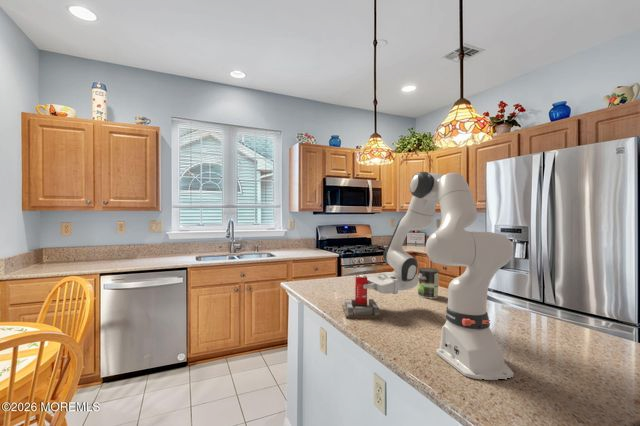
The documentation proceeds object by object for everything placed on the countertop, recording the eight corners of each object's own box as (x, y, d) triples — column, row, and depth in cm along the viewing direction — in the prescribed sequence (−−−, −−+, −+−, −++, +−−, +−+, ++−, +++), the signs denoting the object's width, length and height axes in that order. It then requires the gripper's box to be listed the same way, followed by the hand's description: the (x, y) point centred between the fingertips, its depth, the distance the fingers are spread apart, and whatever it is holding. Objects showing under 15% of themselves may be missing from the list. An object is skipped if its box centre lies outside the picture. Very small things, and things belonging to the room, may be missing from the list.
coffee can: (425, 299, 159) (426, 271, 159) (413, 294, 169) (414, 268, 169) (442, 298, 162) (443, 271, 162) (429, 292, 172) (430, 267, 172)
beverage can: (357, 305, 135) (358, 277, 134) (353, 301, 140) (353, 275, 139) (368, 304, 136) (369, 277, 136) (363, 300, 141) (364, 274, 141)
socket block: (381, 318, 130) (382, 309, 130) (346, 318, 130) (346, 308, 130) (374, 307, 145) (374, 298, 145) (342, 306, 145) (342, 298, 144)
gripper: (373, 271, 152) (348, 273, 146) (400, 280, 133) (372, 283, 128) (373, 283, 152) (348, 286, 146) (400, 294, 133) (372, 298, 128)
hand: (360, 284), depth 137 cm, fingers closed on beverage can, 4 cm apart
